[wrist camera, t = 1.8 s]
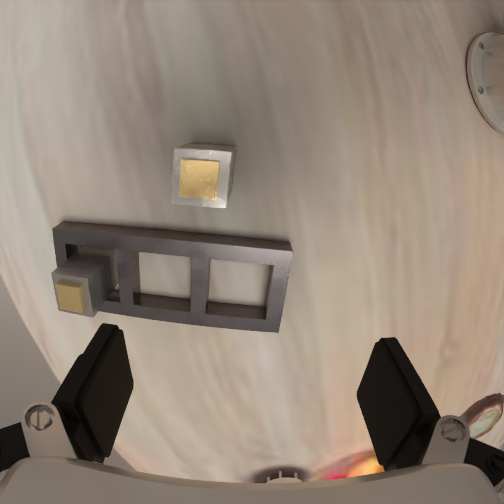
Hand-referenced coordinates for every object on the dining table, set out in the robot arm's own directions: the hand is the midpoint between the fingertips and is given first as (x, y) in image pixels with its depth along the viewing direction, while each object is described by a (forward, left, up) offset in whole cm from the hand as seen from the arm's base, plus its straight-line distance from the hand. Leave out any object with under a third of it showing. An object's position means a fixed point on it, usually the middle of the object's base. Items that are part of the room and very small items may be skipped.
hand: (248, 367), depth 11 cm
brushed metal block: (-4, -4, -20) cm, 21 cm away
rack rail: (+7, -8, -20) cm, 23 cm away
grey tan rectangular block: (+7, -15, -20) cm, 26 cm away
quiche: (+36, +51, -21) cm, 66 cm away
